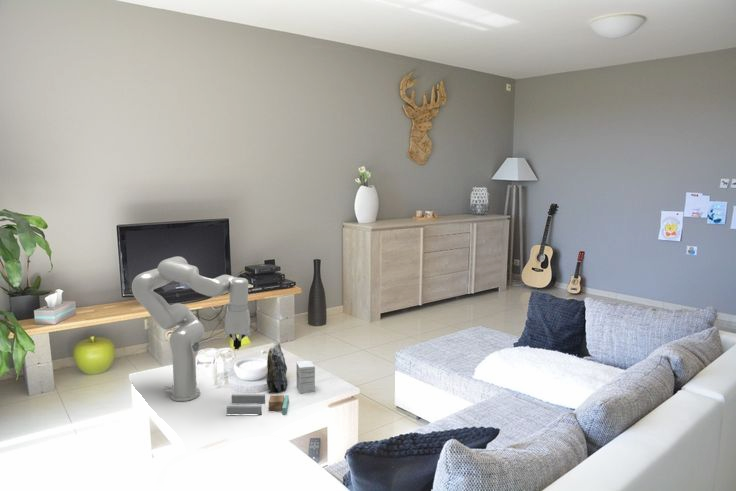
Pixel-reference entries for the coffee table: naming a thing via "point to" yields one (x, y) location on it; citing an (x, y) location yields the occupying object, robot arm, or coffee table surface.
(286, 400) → the bar
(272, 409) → the walnut block
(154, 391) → the coffee table surface
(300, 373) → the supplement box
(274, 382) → the stone block
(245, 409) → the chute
